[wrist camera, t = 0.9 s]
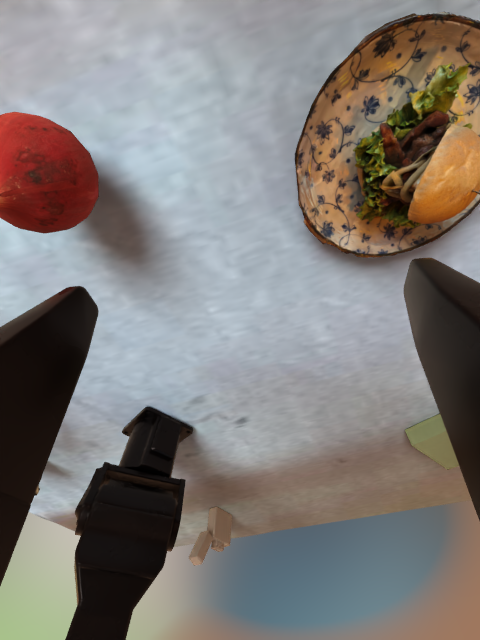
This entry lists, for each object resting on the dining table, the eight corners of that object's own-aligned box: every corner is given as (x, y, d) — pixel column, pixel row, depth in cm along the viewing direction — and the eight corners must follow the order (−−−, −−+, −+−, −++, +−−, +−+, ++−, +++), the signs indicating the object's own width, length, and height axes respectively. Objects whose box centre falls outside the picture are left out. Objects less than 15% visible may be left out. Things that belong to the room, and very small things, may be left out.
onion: (91, 98, 17) (-8, 101, 11) (132, 200, 21) (76, 249, 14) (4, 122, 18) (-134, 138, 12) (57, 217, 21) (-28, 269, 15)
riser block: (439, 453, 37) (447, 470, 36) (404, 429, 35) (411, 445, 33) (504, 428, 34) (516, 445, 32) (470, 399, 31) (481, 415, 29)
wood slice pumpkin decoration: (411, -54, 13) (536, -175, 7) (546, 126, 17) (703, 144, 11) (252, 183, 20) (249, 223, 14) (376, 278, 23) (417, 342, 17)
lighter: (232, 515, 52) (228, 575, 45) (224, 517, 52) (220, 576, 46) (204, 499, 48) (196, 561, 42) (196, 502, 49) (187, 563, 43)
